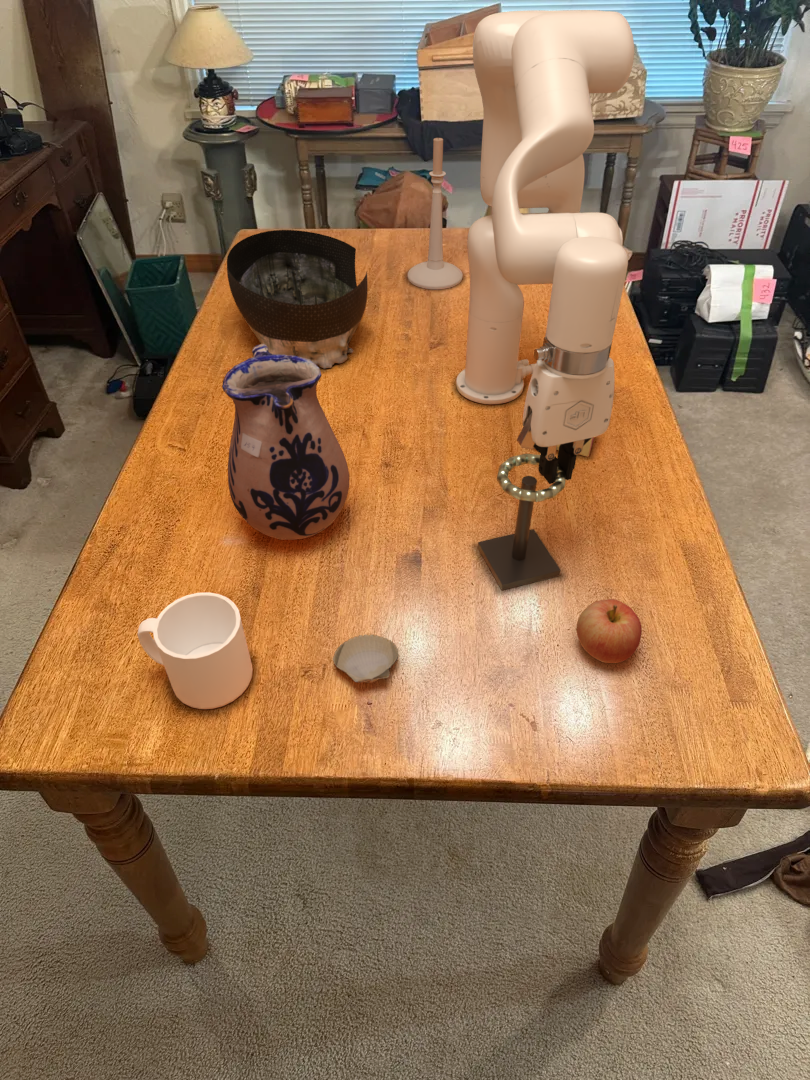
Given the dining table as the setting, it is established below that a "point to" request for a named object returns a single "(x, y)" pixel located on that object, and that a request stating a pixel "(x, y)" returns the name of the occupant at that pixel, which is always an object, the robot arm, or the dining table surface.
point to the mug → (200, 649)
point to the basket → (298, 293)
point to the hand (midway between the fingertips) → (555, 474)
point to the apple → (609, 631)
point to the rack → (519, 550)
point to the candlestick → (436, 237)
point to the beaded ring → (528, 494)
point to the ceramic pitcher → (283, 448)
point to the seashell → (366, 657)
